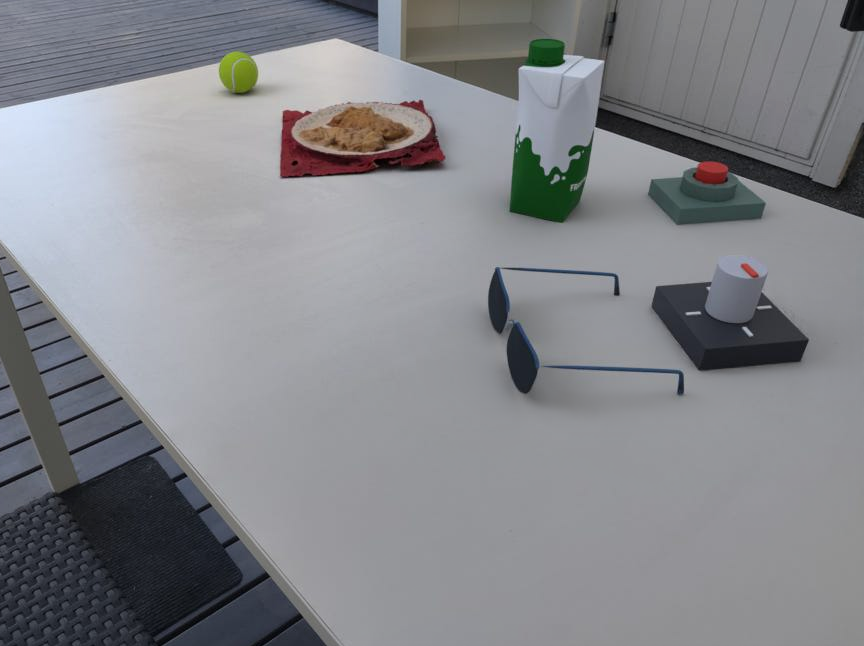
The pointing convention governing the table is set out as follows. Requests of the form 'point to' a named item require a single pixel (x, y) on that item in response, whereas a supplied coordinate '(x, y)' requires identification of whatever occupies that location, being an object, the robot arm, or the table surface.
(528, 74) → the milk carton
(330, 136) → the plate with food
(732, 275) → the temp dial
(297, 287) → the table surface
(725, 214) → the green button base
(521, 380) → the sunglasses
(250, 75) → the tennis ball
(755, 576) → the table surface
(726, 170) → the power button
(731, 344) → the dial panel
